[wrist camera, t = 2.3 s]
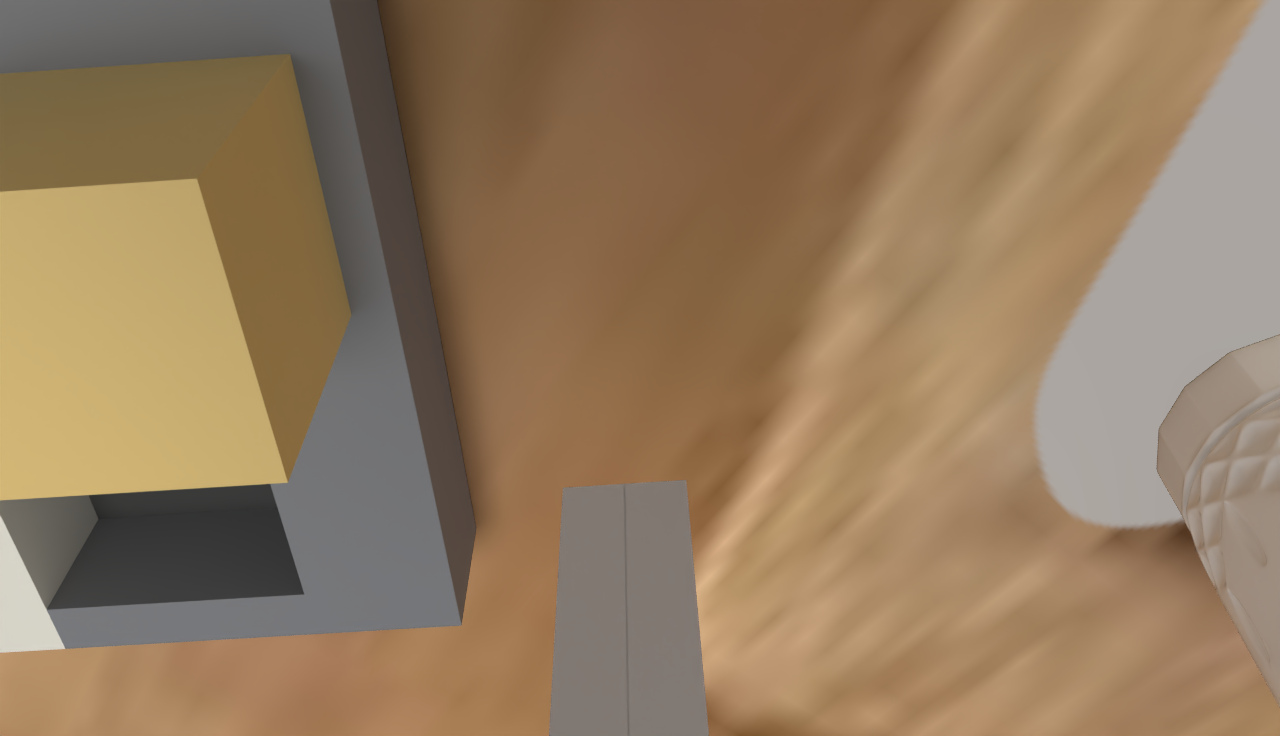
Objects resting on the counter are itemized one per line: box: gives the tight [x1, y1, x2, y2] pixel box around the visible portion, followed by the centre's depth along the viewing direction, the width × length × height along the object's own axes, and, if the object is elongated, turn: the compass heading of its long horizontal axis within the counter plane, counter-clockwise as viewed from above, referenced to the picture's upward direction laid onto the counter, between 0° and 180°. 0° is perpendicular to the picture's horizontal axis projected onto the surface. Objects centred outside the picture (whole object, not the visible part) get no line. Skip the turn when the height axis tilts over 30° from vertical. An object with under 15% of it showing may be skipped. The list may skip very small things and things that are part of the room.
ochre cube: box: [0, 54, 351, 500], centre depth 22 cm, size 6×6×6 cm
